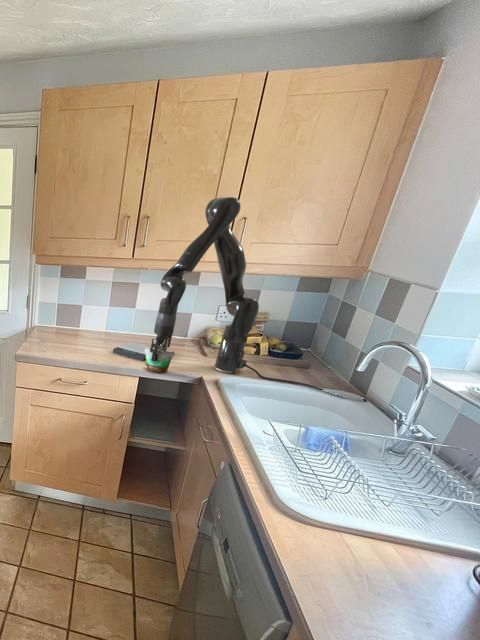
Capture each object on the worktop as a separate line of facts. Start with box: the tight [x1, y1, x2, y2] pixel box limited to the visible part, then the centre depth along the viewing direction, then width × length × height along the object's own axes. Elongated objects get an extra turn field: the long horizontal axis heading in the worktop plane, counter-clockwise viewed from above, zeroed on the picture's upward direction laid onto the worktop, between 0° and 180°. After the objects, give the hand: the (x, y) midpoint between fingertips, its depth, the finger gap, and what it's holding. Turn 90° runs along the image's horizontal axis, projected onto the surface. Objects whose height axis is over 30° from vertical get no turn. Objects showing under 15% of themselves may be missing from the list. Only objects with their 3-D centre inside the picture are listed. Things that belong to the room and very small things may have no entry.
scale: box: [112, 341, 151, 362], centre depth 206 cm, size 16×16×3 cm
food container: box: [144, 347, 176, 374], centre depth 183 cm, size 12×6×10 cm, turn 62°
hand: (157, 359), depth 182 cm, fingers closed on food container, 7 cm apart
